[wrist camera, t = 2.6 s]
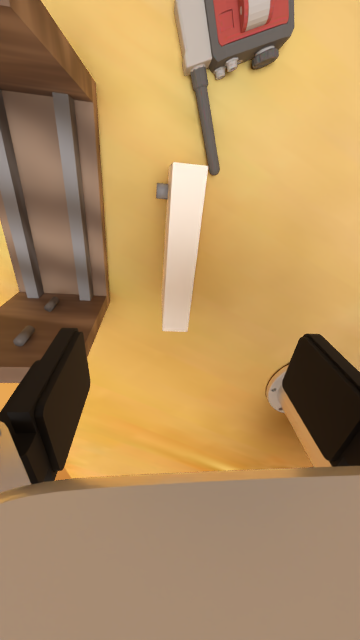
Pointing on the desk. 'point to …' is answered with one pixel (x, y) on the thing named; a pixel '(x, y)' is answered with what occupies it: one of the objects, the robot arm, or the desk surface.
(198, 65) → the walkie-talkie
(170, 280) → the door panel
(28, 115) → the brown wooden book rack
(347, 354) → the desk surface
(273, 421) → the desk surface
